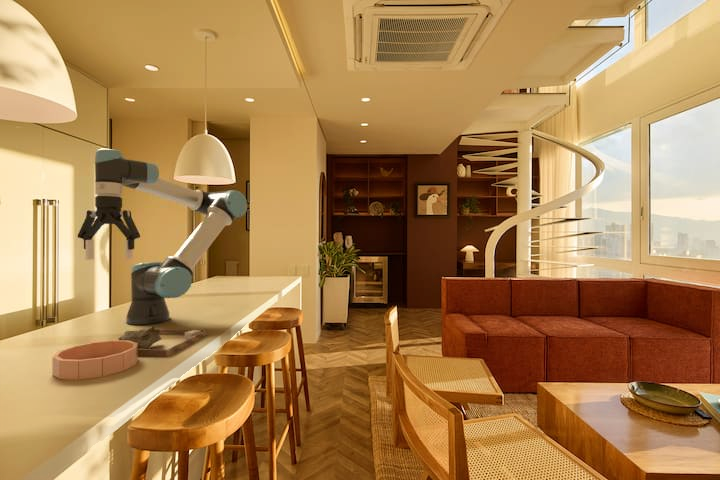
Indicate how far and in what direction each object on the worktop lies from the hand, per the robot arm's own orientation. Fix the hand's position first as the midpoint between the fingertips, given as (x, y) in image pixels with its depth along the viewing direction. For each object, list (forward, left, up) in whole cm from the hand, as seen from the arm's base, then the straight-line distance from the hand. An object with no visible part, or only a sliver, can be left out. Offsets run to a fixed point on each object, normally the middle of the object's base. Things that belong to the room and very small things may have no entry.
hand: (109, 259), depth 125 cm
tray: (+5, +20, -27) cm, 34 cm away
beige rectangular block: (-3, +27, -27) cm, 38 cm away
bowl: (+26, +17, -27) cm, 41 cm away
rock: (+7, +16, -26) cm, 31 cm away
